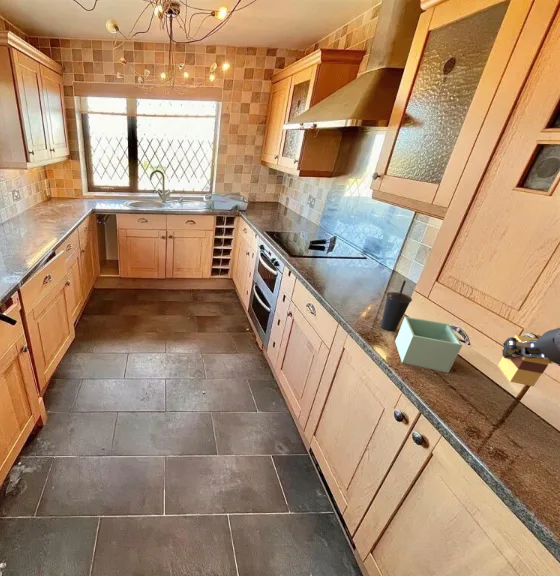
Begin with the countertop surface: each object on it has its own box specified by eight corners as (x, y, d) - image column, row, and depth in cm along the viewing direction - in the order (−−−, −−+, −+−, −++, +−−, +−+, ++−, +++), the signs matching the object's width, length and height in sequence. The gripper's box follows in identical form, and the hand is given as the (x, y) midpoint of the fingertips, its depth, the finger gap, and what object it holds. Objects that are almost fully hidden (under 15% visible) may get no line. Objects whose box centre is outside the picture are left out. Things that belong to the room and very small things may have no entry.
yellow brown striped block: (519, 369, 73) (538, 338, 69) (533, 386, 68) (555, 354, 64) (497, 365, 75) (514, 334, 71) (509, 381, 70) (529, 350, 66)
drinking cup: (377, 331, 115) (393, 283, 106) (375, 320, 121) (390, 274, 112) (401, 335, 112) (420, 287, 103) (398, 325, 118) (415, 278, 110)
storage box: (436, 350, 105) (448, 324, 100) (448, 373, 95) (462, 345, 90) (395, 341, 109) (404, 316, 105) (401, 362, 99) (412, 335, 95)
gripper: (638, 332, 55) (559, 348, 70) (532, 317, 60) (479, 334, 75) (644, 374, 53) (561, 381, 68) (533, 355, 58) (479, 364, 73)
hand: (518, 356), depth 71 cm, fingers closed on yellow brown striped block, 4 cm apart
